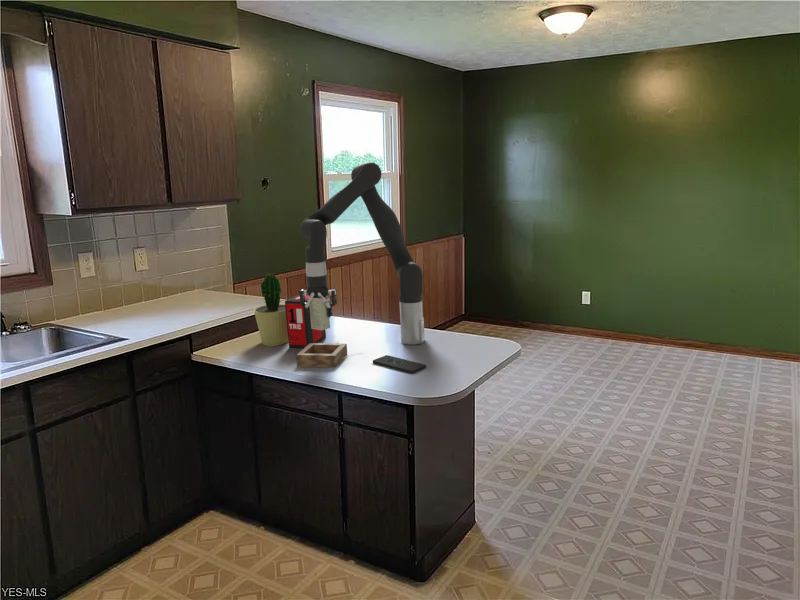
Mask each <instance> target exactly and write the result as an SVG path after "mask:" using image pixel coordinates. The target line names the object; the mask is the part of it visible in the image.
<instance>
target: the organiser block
mask: <svg viewBox="0 0 800 600" xmlns="http://www.w3.org/2000/svg"><path fill="white" fill-rule="evenodd" d="M347 344H348V343H335V342H334V343H331V342H330V343H329V342H328V343H327V342H325V343H324V342H323V343H321V342H319V343H310V344H308V345H307V346H306V347H305V348H304V349H301V350H300V351H299V352H298V353H297V354H296V355H295V356H296V366H297V367H301V368H302V367H303V368H304V367H305V368H306V367H307V368H337V367H338V366H339V365H340V363H341V362H342V361H344V359H345V358H346V357H347V356H348V345H347ZM338 364H339V365H338ZM337 365H338V366H337ZM336 366H337V367H336Z"/></svg>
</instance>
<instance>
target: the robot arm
mask: <svg viewBox="0 0 800 600" xmlns="http://www.w3.org/2000/svg"><path fill="white" fill-rule="evenodd" d="M350 176H351V177H350V178H351V182H349V183H347V185H346V186H344V188H342V189H341V190H339V191H338V192H336V193H335V194H334V195H332V196H331V198H329V199H328V200H327V201H326V202H325V203H324V204H322V206H321V207H320V208H319V209H318V210H316V211H315V212H313V213H312V214H310V215H308V216H307V217H305V219H304V220H303V221H302V222H301V224H300V226H299V232H300V235H301V236H302V237H303V238H306V239H308V240H309V245H308V246H306V247H305V251H304V253H305V275H306V276H305V278H306V286H307V287H306V289H301V290H299V291H298V293H299V294H298V295H300V305H301V306H304V307H306V315H307V316H308V317H310V308H309V305H310V303H311V301H312V298H323V302H324V303H325V304H326V306H327V307H328V308H327V313H328V317H329V318H331V317H332V316H333V307H335V306H337V304H338V299H337V290H336V289H335V288H334V289H329V288H328V275H327V273H328V272H327V264H326V256H325V254H326V253H325V249H326V242H327V237H328V236H327V235H328V234H327V233H328V232H327V226H326V225H331V224H334V223H335V221H337V220H338V219H339V217H341V215H343V213H344V212H345V211H346V210H347V209H348V208H350V206H351V205H352V204H353V203H355V201H356V200H357V199H359V198H361V199H362V202H364V205H365V207H366V209H367V211H368V213H369V216H370V218H371V220H372V222H373V224H374V227H375V229H376V231H377V234H378V236H379V237H380V239H381V241H382V243H383V245H384V247H385V248H386V250H387V252H388V253H389V255H390V258H391V260H392V263H393V266H394V269H395V273H396V276H397V278H398V279H399V288H400V290H399V295H398V296H399V297H398V298H399V300H398V301H399V314H400V315H399V320H400V323H399V324H400V340H401V342H400V343H402V344H404V345H419V344H423V343H424V341H425V339H426V338H425V318H424V315H423V293H424V288H423V287H424V286H423V285H424V280H423V277H424V276H423V275H424V274H423V271H422V268H421V267H420V265H418V264H417V263H416V262H415V261H414V259H413V257H412V255H411V254H410V252H409V249H408V248H407V245H406V241H405V236H404V233H403V228H402V227H401V224H400V221H399V219H398V217H397V214H396V213H395V212H394V211H393V209H392V208H391V206H389V204H387V203H386V202H385V201H384V200H383V198H382V197H381V196H380V194H379V192H378V189H377V188H376V185H377V184H379V183H380V181H381V179H382V169H381V167H380V166H379V164H377V163H375V162H374V161H373V162H372V161H368V162H363V163H361V164H358V165H356V166H355V167H353V168H352V171H351V174H350ZM306 293H307V294H308V295H309V299H308V301H307V303H306V300H305V295H306ZM328 295H330V296H331V297H330V298H331V300H330V298H329V296H328ZM325 297H327V300H326V299H325Z"/></svg>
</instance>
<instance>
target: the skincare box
mask: <svg viewBox="0 0 800 600" xmlns="http://www.w3.org/2000/svg"><path fill="white" fill-rule="evenodd" d="M325 299H326V300H327V297H325ZM309 308H310V318H311V328H312V329H317V330H325V331H326V330H328V329H331V323H330V322H331V320H330V317H328V313H327V308H328V307H327V306H326V304H325V303H324V302H323V298H312V301H311V303H310V305H309Z"/></svg>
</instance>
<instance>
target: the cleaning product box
mask: <svg viewBox="0 0 800 600" xmlns="http://www.w3.org/2000/svg"><path fill="white" fill-rule="evenodd" d="M308 299H309V295H308V294H307V293H306V295H305V300H306V303H307V301H308ZM284 304H285V309H286V320H287V331H288V342H287V343H288V348H289V349H294V350H295V349H296V350H303V349H304V348H305V347H306V346H307V345H308V344H310V343H321V342H323V340H325V339H327V333H326V329H325V330H317V329H312V328H311V318H310V317H308V316H307V315H306V307H304V306H301V305H300V295H299V294H296V295H295V296H293V297H290V298H288V299H286V300H284Z"/></svg>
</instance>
